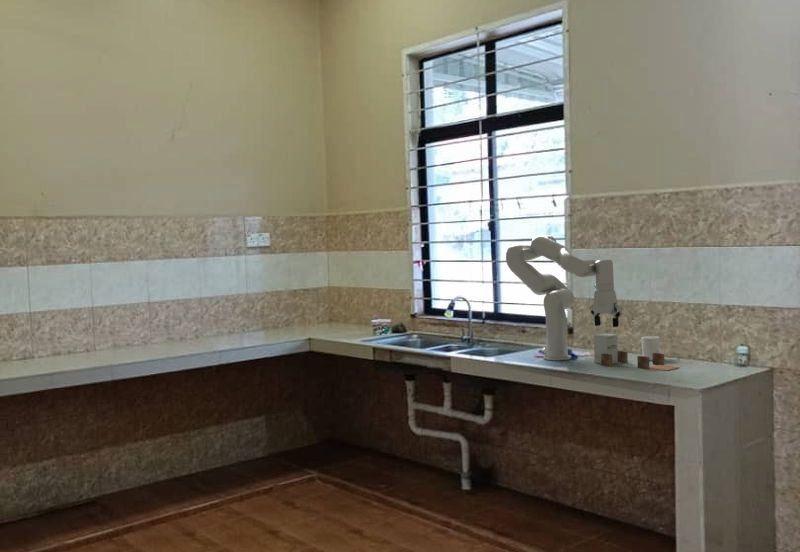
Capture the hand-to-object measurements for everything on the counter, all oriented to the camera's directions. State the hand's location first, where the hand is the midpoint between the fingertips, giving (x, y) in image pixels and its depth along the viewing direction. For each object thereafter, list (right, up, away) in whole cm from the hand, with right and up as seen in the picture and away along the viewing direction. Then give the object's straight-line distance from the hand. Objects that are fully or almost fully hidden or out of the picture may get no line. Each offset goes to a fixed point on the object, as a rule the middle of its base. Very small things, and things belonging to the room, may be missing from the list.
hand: (606, 326), depth 335 cm
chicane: (+9, -17, -7) cm, 20 cm away
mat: (+20, -17, -16) cm, 30 cm away
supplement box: (0, -17, +1) cm, 17 cm away
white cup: (+22, -16, +6) cm, 27 cm away
